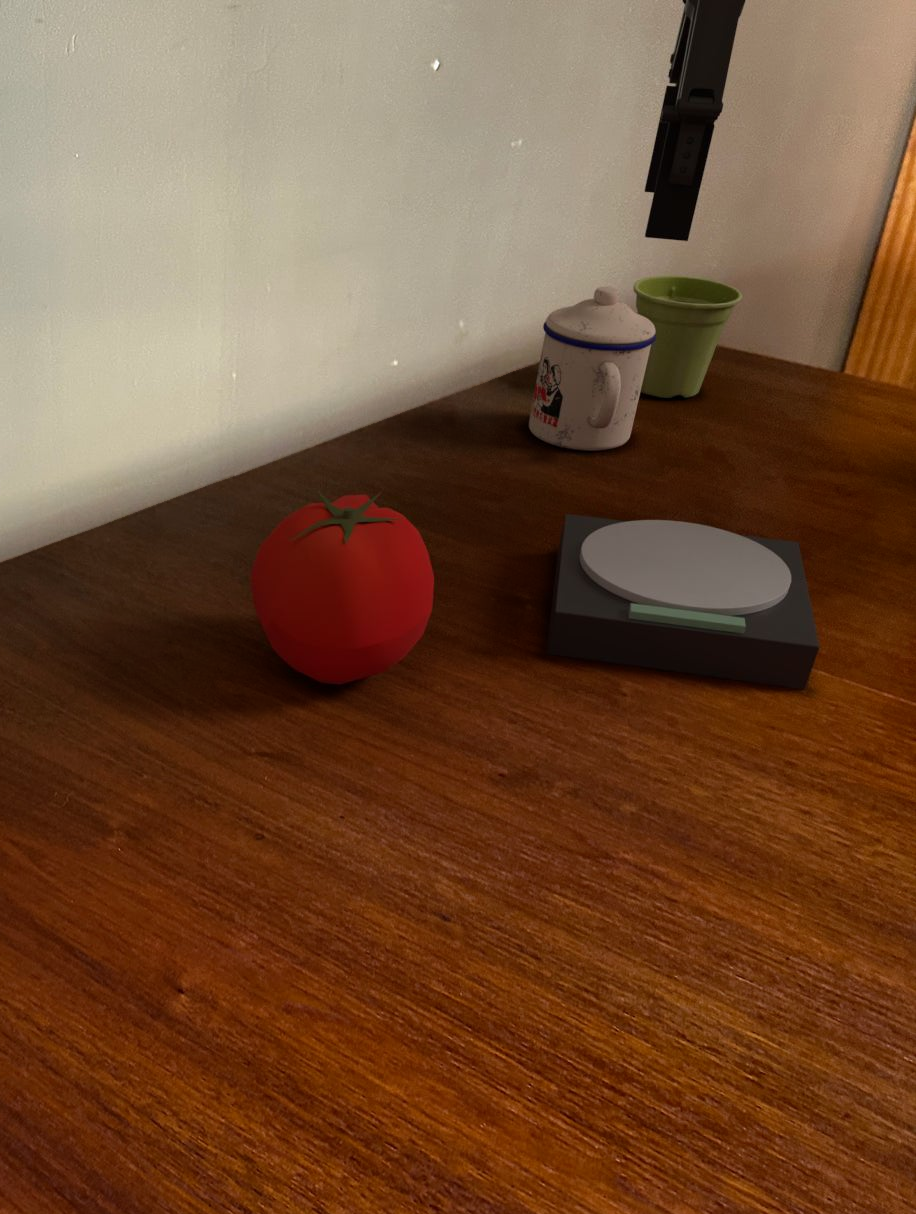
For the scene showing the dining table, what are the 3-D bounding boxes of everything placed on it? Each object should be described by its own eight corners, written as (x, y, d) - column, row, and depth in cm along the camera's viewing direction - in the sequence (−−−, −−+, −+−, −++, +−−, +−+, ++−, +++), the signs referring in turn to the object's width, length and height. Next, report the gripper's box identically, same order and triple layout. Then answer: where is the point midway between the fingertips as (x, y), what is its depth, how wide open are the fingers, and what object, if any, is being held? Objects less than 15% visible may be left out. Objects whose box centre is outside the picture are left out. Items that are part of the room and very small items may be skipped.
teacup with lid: (516, 413, 125) (540, 271, 118) (618, 416, 126) (649, 275, 118) (542, 465, 116) (571, 315, 109) (652, 468, 116) (689, 318, 109)
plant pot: (596, 391, 131) (617, 290, 125) (634, 365, 137) (656, 268, 131) (695, 414, 127) (721, 311, 121) (729, 386, 133) (756, 287, 127)
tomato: (432, 628, 93) (455, 476, 87) (411, 724, 84) (435, 561, 77) (266, 606, 95) (276, 455, 89) (226, 698, 86) (235, 536, 79)
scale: (785, 582, 101) (801, 533, 98) (805, 690, 89) (823, 637, 86) (557, 553, 103) (567, 505, 101) (546, 654, 91) (557, 602, 89)
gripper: (683, -190, 93) (612, 171, 107) (693, -182, 75) (605, 254, 89) (801, -185, 92) (714, 180, 106) (841, -176, 74) (729, 265, 87)
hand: (664, 214), depth 97 cm, fingers open, 13 cm apart
